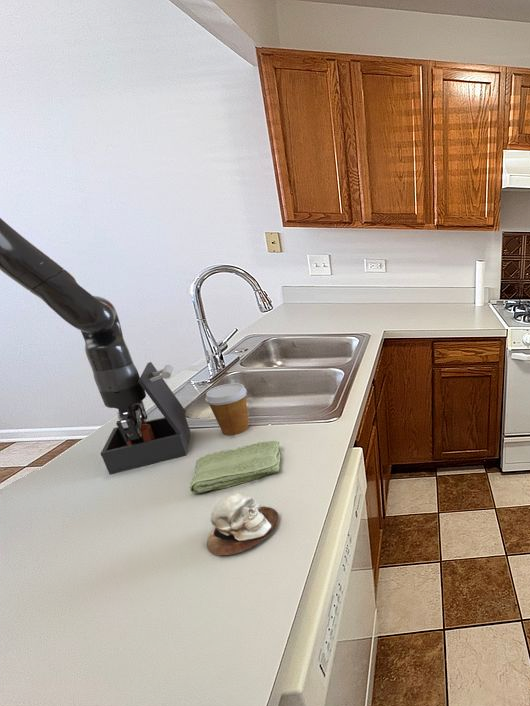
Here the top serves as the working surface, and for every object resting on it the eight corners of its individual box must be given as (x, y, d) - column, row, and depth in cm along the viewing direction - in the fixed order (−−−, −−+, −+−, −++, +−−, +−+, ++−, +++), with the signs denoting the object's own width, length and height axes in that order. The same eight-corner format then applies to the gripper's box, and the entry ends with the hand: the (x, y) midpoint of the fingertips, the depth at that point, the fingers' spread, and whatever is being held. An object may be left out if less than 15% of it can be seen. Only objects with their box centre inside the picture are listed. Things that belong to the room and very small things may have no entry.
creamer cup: (126, 457, 95) (118, 436, 93) (137, 446, 100) (129, 425, 98) (151, 454, 96) (144, 433, 94) (161, 442, 101) (154, 422, 99)
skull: (296, 508, 79) (260, 502, 70) (271, 564, 75) (230, 565, 66) (250, 493, 83) (211, 484, 74) (224, 545, 79) (179, 543, 70)
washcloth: (282, 474, 91) (280, 462, 90) (190, 499, 83) (186, 486, 82) (280, 445, 102) (277, 434, 100) (198, 465, 94) (194, 453, 93)
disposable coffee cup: (229, 420, 113) (219, 382, 109) (262, 420, 113) (253, 382, 109) (207, 438, 105) (194, 398, 100) (242, 439, 104) (231, 398, 100)
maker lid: (137, 381, 88) (163, 372, 90) (147, 363, 98) (170, 354, 100) (177, 434, 95) (200, 424, 97) (182, 412, 105) (202, 403, 107)
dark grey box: (109, 474, 91) (100, 453, 89) (121, 447, 101) (113, 427, 99) (186, 455, 98) (179, 435, 95) (190, 431, 108) (184, 413, 106)
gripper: (106, 375, 95) (129, 435, 102) (89, 399, 84) (116, 465, 90) (145, 369, 99) (165, 427, 105) (134, 391, 87) (157, 455, 94)
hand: (143, 444), depth 98 cm, fingers closed on creamer cup, 5 cm apart
